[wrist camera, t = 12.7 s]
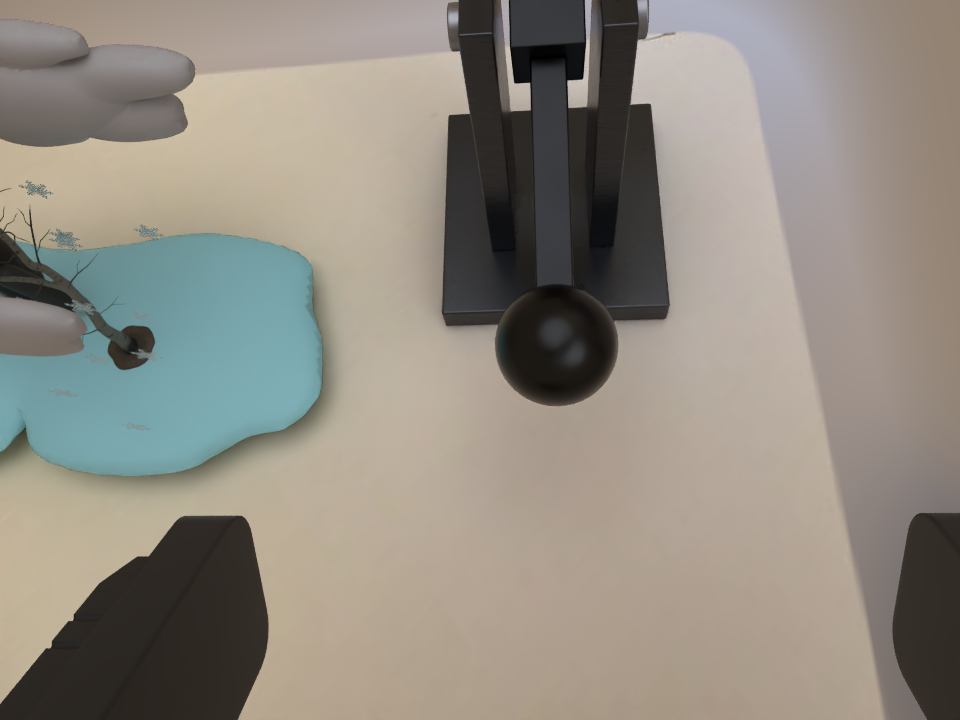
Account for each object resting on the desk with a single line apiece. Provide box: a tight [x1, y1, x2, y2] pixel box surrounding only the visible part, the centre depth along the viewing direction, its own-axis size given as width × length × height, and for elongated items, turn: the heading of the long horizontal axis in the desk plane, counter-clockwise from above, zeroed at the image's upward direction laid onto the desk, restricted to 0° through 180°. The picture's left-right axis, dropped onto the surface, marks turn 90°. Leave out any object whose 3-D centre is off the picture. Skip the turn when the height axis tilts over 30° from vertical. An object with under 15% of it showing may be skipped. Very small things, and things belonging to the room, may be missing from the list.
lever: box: [495, 0, 618, 406], centre depth 24 cm, size 13×4×4 cm, turn 179°
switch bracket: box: [442, 0, 670, 326], centre depth 28 cm, size 10×9×13 cm
